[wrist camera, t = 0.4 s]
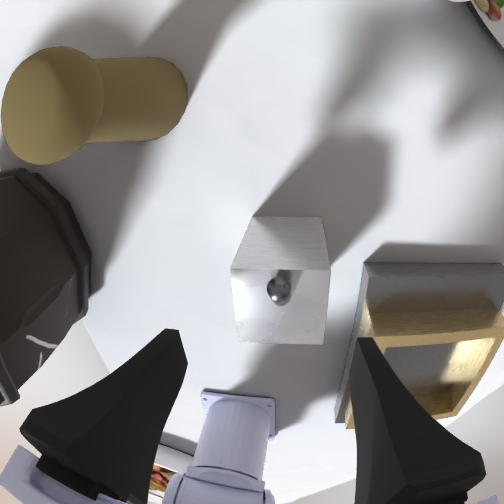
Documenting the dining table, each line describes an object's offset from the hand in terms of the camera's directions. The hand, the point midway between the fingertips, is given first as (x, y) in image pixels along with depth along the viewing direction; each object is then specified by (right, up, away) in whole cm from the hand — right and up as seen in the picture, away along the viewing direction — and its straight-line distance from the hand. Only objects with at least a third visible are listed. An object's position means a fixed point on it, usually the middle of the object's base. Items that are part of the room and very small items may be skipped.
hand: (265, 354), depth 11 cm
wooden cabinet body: (+14, -5, +12) cm, 19 cm away
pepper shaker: (-8, +14, +6) cm, 17 cm away
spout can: (+2, +4, +9) cm, 10 cm away
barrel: (-23, +4, +13) cm, 27 cm away
